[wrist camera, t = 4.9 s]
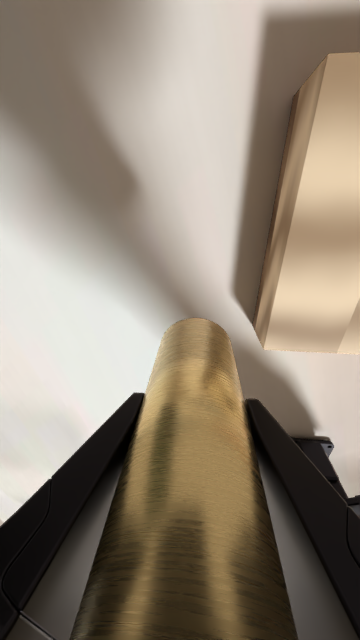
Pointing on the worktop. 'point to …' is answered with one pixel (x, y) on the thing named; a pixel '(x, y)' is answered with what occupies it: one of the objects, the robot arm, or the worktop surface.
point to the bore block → (316, 220)
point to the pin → (188, 512)
